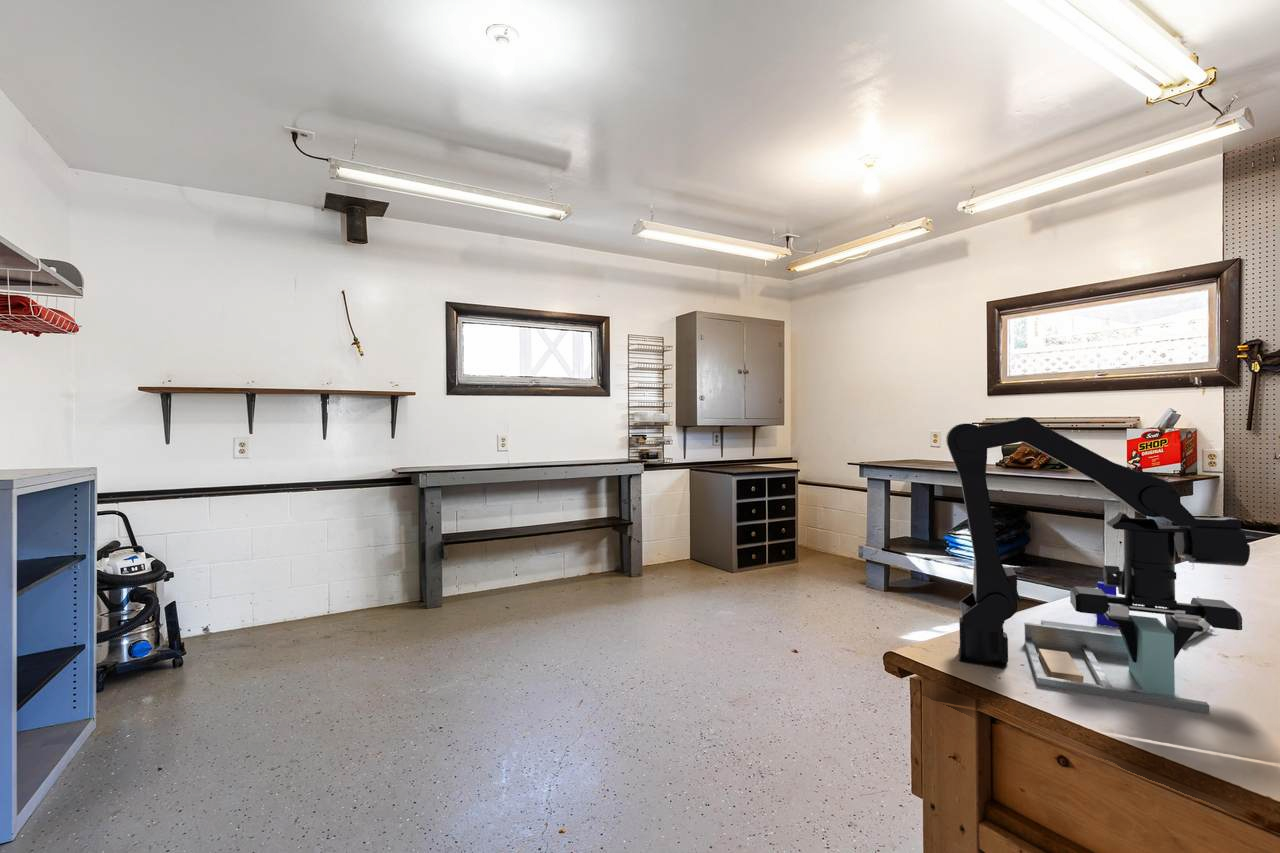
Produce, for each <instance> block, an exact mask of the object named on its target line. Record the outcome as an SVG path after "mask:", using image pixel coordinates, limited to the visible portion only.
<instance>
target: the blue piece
mask: <svg viewBox="0 0 1280 853" xmlns="http://www.w3.org/2000/svg"><path fill="white" fill-rule="evenodd" d="M1097 588H1098V589H1101V590H1102V591H1103V592H1104V593H1105V594H1106V595H1107V596H1116V597H1117V587H1112V586H1105V585H1104V582H1103V581H1097ZM1098 624H1100V625H1099V626H1104V625H1106V626H1105V627H1110V626H1112V628H1116V627H1117V625H1116V623H1115V622H1112V621H1109V620H1108V619H1107V618H1106V616H1105V615H1104V614H1103V615H1098V614H1096V625H1098Z"/></svg>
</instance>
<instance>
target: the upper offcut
mask: <svg viewBox="0 0 1280 853" xmlns="http://www.w3.org/2000/svg"><path fill="white" fill-rule="evenodd" d="M1038 652H1039V653H1038V658H1039V660H1041V661H1042V662H1041V661H1040V662H1041V663H1043V664H1042V666H1043V665H1044V667H1045V669H1046V670H1047V672H1048V674H1049V676H1050V677H1052V678H1058V679H1065V680H1071V681H1077V682H1084V675H1083V674H1082V672H1081V670H1080V669H1079V667H1078V665H1077V664H1076V663H1075V661H1074V660H1073V658H1072V655H1070V654H1069V651H1062V650H1054V649H1047V648H1038ZM1044 667H1043V668H1044Z"/></svg>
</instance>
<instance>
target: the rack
mask: <svg viewBox="0 0 1280 853" xmlns="http://www.w3.org/2000/svg"><path fill="white" fill-rule="evenodd" d="M1023 623H1024V627H1023V628H1024V645H1025V649H1026V652H1027V655H1028V658H1029V662H1030V665H1031V668H1032V673H1033V674H1034V678H1035V681H1036V685H1037V686H1038V687H1040V688H1041V687H1042V688H1049V689H1055V690H1060V691H1064V692H1065V691H1066V692H1073V693H1078V694H1085V695H1089V696H1096V697H1102V698H1109V699H1115V700H1120V701H1127V702H1131V703H1138V704H1145V705H1150V706H1157V707H1162V708H1169V709H1175V710H1181V711H1187V712H1193V713H1199V714H1205V715H1210V705H1209V703H1208V702H1207V701H1202V700H1196V699H1188V698H1182V697H1179V696H1178V697H1176V696H1172V695H1166V694H1160V693H1153V692H1147V691H1139V690H1135V689H1134V690H1133V689H1128V688H1127V689H1126V688H1119V687H1114V686H1113V685H1112V684H1111V682H1110V680H1109V678H1108V677H1107V675H1106V674H1105V672H1104V670H1103V668H1102V666H1101V664H1100V663H1099V661H1098V660H1097V658H1096V657H1095V656H1097V657H1098V656H1099V657H1107V658H1114V659H1121V660H1128V661H1129V652H1128V650H1127V647H1126V645H1125V642H1124V640H1123V637H1122V635H1121V634H1113V633H1105V632H1097V631H1089V630H1081V629H1073V628H1065V627H1057V626H1049V625H1042V623H1041V624H1039V623H1033V622H1031V623H1030V622H1023ZM1036 648H1040V649H1047V650H1054V651H1061V652H1068V653H1069V652H1072V653H1079V654H1082V656H1083V659H1084V660H1085V662H1086V664H1087V665H1088V667H1089V670H1090V671H1091V673H1092V675H1093V677H1094V679H1095V681H1096V682H1097V684H1094V683H1089V682H1084V681H1083V682H1084V683H1083V682H1077V681H1071V680H1065V679H1058V678H1052V677H1047V675H1046V674H1045V673H1044V669H1043V666H1042V664H1041V661H1040V657H1039V654H1038V652H1037V650H1036Z"/></svg>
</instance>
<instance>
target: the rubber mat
mask: <svg viewBox="0 0 1280 853" xmlns="http://www.w3.org/2000/svg"><path fill="white" fill-rule="evenodd" d="M1040 621H1041V622H1040V623H1041V625H1049V626H1057V627H1065V628H1073V629H1081V630H1089V631H1097V632H1105V633H1113V634H1121V632H1120V630H1119V629H1118V628H1117V629H1115V628H1106V627H1099V626H1098V627H1097V626H1092V625H1091V626H1090V625H1083V624H1075V623H1073V624H1072V623H1068V622H1067V623H1065V622H1057V621H1049V620H1040Z"/></svg>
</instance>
